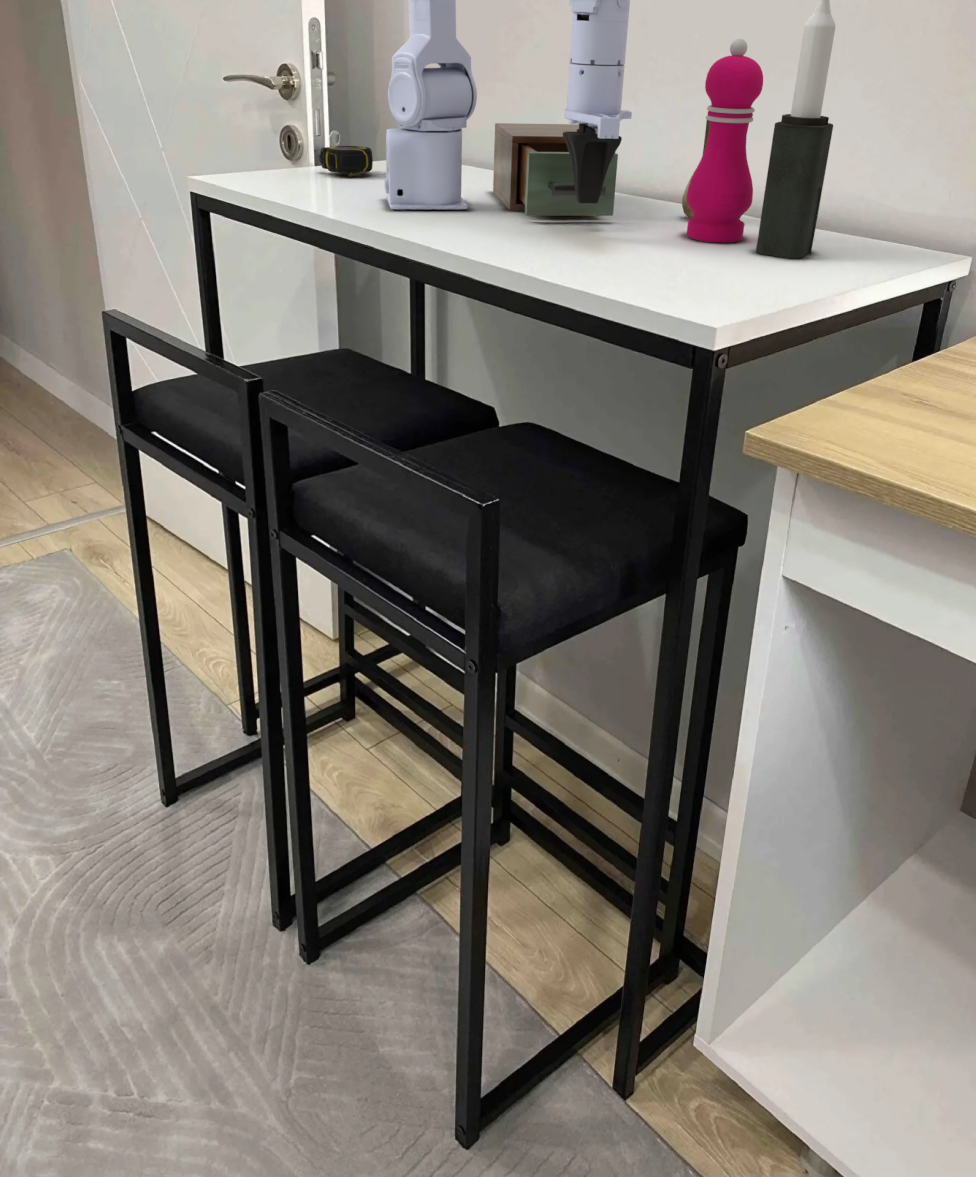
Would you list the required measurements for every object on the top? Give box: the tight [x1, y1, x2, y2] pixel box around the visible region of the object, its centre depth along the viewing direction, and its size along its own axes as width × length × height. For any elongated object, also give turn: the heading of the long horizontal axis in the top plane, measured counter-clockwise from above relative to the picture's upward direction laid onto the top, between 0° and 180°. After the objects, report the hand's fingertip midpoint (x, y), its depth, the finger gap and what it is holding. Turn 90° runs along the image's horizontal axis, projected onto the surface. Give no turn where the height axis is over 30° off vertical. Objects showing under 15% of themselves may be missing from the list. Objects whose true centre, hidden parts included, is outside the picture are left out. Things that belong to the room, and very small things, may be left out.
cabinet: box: [492, 122, 579, 212], centre depth 135 cm, size 14×12×9 cm
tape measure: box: [318, 145, 374, 177], centre depth 151 cm, size 7×7×4 cm
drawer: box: [516, 143, 619, 217], centre depth 126 cm, size 17×10×7 cm, turn 8°
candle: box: [755, 0, 836, 259], centre depth 107 cm, size 5×5×25 cm
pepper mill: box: [686, 38, 764, 244], centre depth 115 cm, size 7×7×20 cm
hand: (587, 202), depth 116 cm, fingers closed
